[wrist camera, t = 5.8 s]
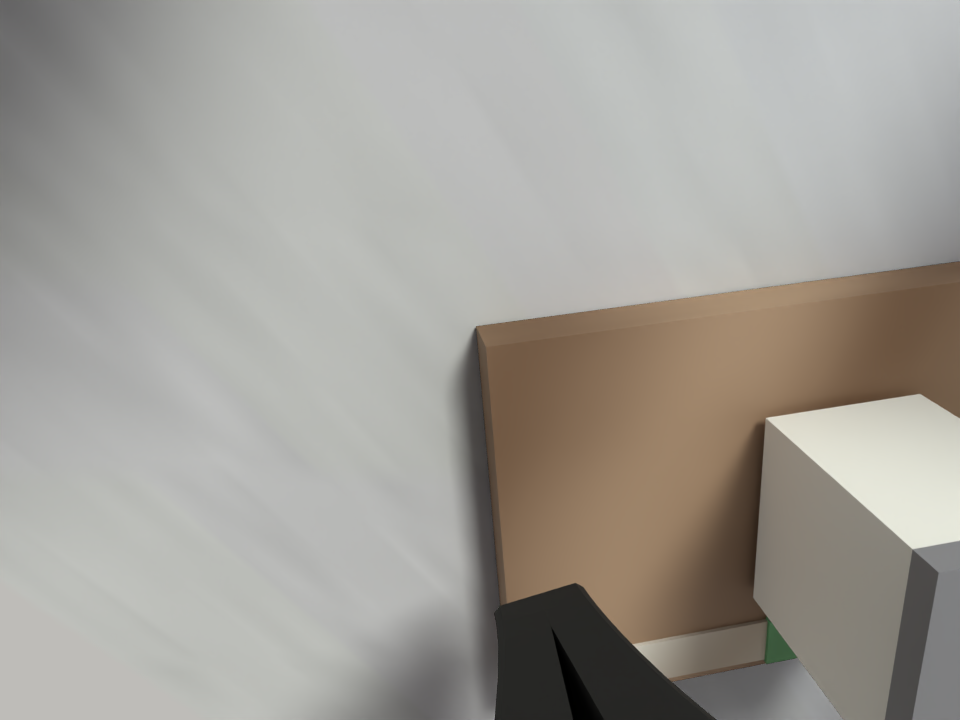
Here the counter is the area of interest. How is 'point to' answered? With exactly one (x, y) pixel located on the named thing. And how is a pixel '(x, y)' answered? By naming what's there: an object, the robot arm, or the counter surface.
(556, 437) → the frame
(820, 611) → the block
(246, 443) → the counter surface
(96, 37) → the counter surface
